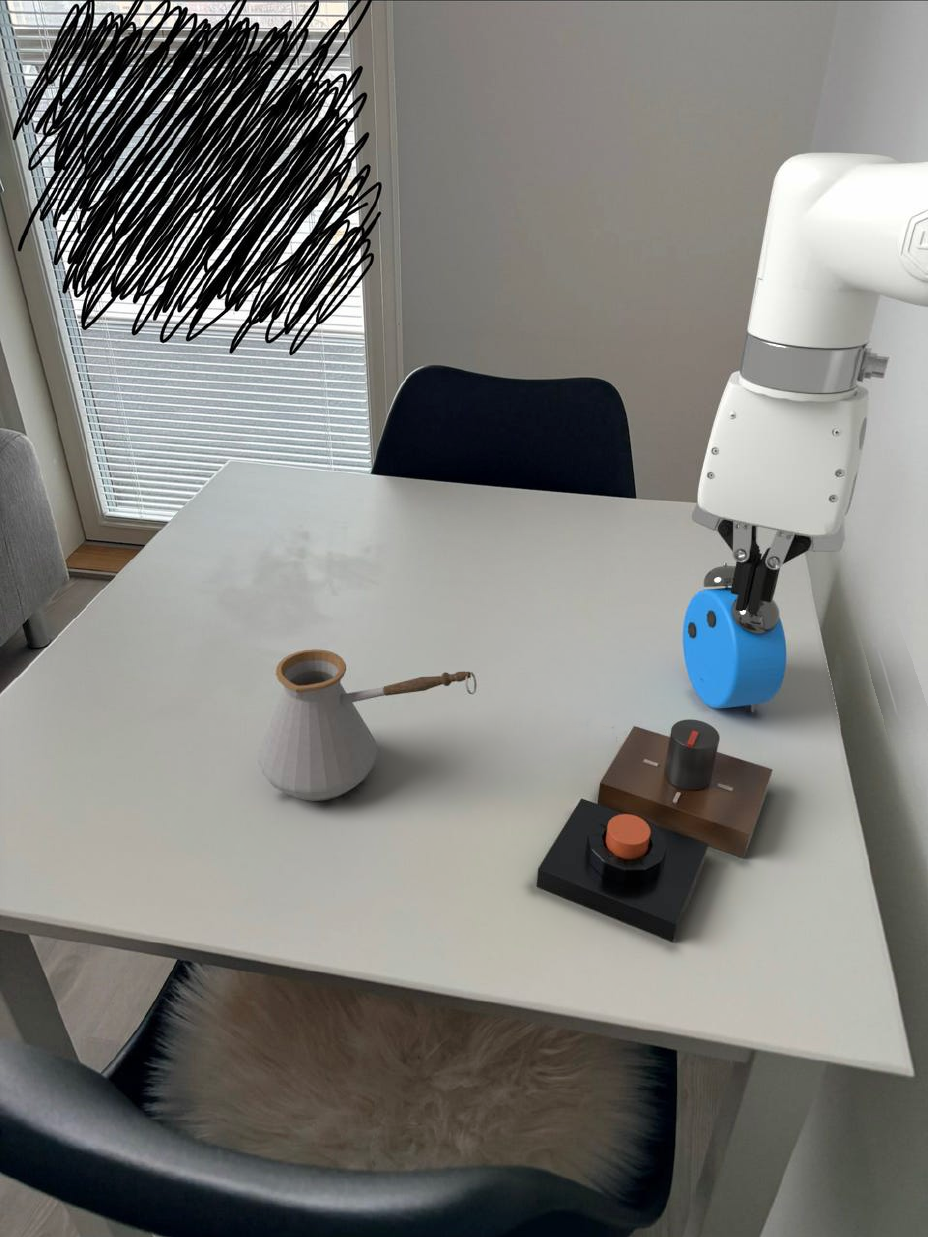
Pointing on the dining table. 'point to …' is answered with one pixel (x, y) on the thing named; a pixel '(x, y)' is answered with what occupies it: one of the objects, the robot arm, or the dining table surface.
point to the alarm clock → (732, 646)
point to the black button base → (623, 872)
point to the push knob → (627, 836)
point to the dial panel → (686, 793)
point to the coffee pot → (325, 726)
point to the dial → (691, 754)
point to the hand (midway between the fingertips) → (749, 604)
